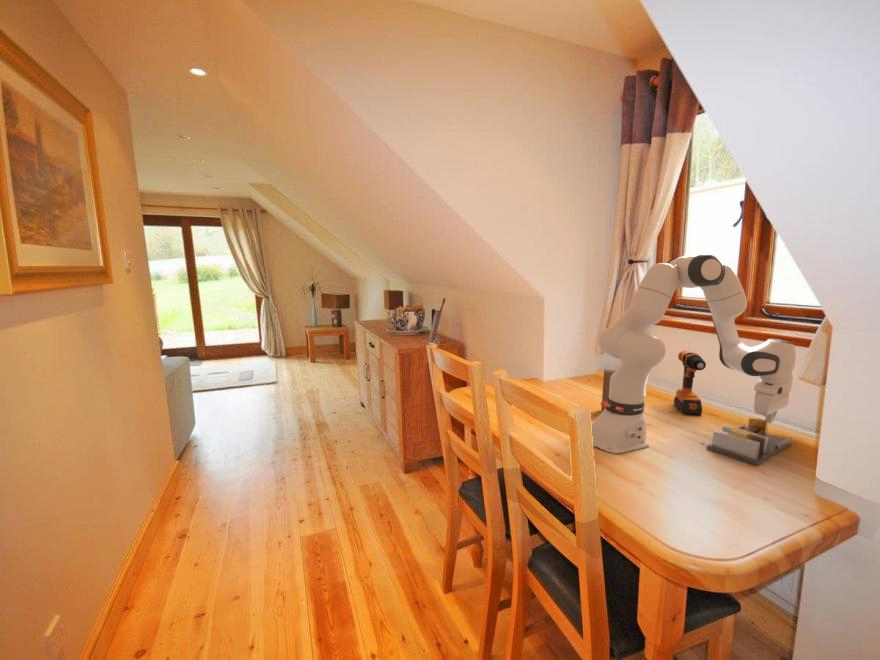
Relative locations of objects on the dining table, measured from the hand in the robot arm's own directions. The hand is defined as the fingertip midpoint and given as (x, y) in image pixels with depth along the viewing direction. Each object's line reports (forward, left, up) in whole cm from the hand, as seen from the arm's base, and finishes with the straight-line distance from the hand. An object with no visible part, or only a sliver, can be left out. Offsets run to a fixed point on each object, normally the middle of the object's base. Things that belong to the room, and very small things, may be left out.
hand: (769, 421), depth 145 cm
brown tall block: (-27, +44, -6) cm, 52 cm away
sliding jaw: (-16, 0, -4) cm, 16 cm away
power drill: (+2, +28, -6) cm, 29 cm away
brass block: (-24, 0, -4) cm, 25 cm away
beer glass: (+5, +52, -6) cm, 53 cm away
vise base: (-16, 0, -5) cm, 17 cm away
